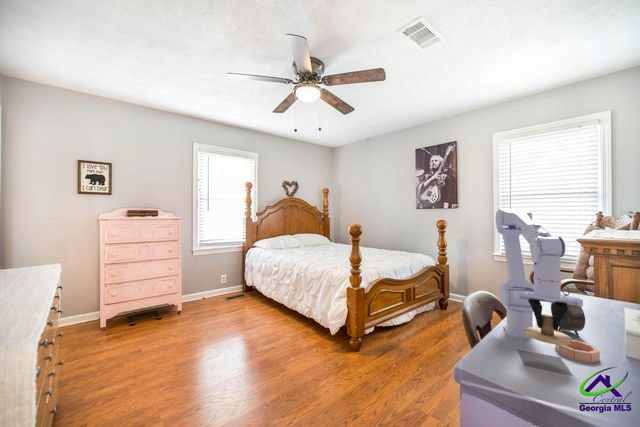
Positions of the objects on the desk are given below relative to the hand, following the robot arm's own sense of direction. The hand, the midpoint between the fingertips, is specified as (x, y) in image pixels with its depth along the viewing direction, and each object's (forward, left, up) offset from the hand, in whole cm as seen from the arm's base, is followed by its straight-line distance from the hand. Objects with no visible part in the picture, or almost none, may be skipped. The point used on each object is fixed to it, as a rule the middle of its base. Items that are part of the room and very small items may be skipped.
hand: (547, 327), depth 75 cm
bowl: (-8, +9, -10) cm, 15 cm away
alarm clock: (-28, +12, -10) cm, 32 cm away
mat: (+2, -1, -10) cm, 10 cm away
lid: (0, 0, -2) cm, 2 cm away
